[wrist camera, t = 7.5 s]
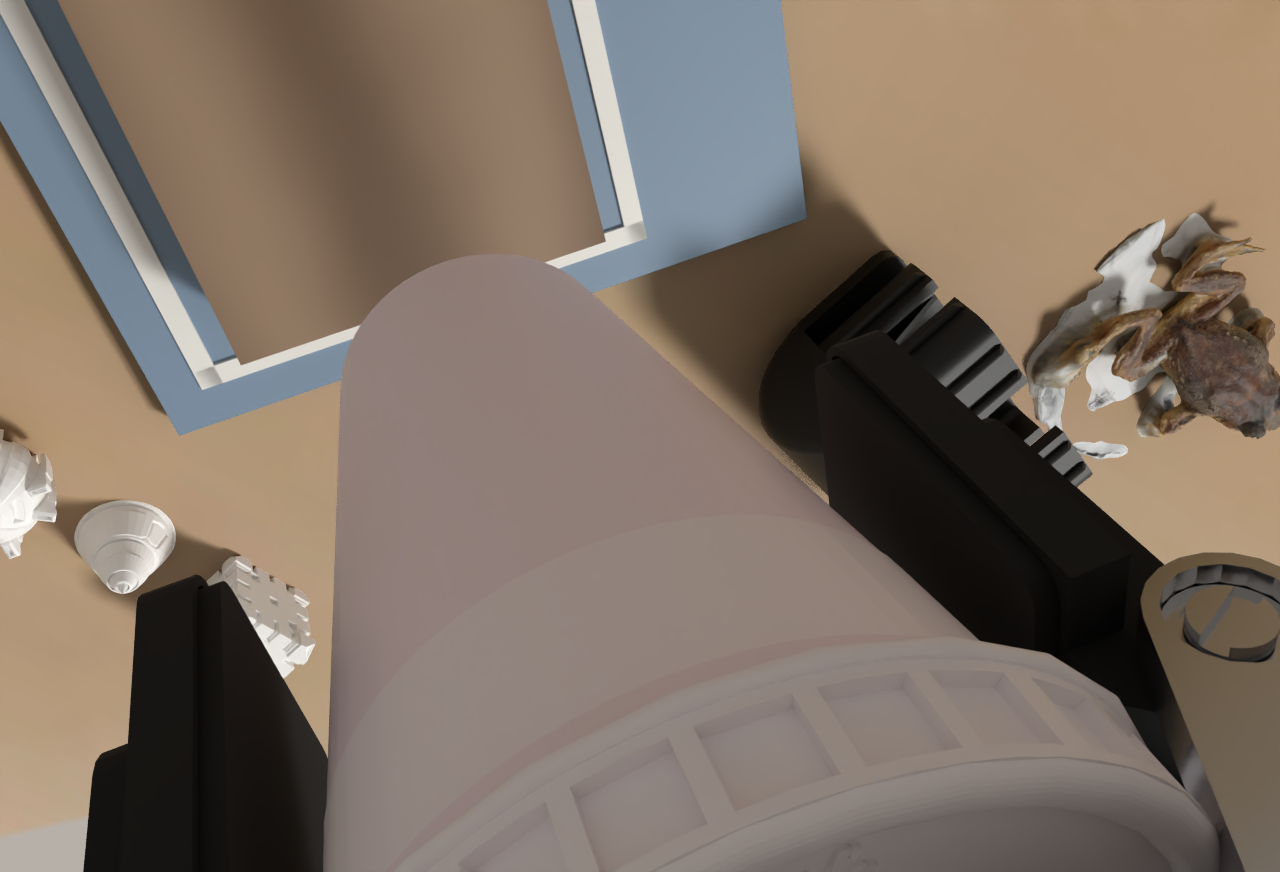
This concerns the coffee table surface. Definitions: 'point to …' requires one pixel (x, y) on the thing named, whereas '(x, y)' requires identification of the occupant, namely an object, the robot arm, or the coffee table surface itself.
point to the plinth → (341, 145)
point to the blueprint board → (635, 245)
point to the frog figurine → (1163, 341)
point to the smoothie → (665, 635)
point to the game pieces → (146, 552)
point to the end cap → (926, 332)
